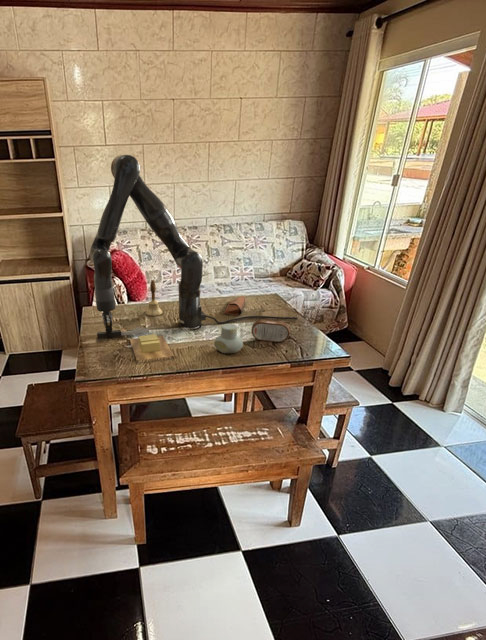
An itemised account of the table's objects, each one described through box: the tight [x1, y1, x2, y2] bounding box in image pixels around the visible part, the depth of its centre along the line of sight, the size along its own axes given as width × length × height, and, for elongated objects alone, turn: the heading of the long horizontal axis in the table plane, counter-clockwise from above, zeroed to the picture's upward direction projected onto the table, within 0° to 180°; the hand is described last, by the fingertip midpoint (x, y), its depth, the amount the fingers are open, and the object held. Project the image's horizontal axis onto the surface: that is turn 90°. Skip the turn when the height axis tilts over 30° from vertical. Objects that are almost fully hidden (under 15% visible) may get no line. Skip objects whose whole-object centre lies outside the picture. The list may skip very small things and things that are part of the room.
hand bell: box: [145, 279, 164, 317], centre depth 193 cm, size 8×8×16 cm
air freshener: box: [214, 323, 244, 354], centre depth 155 cm, size 11×8×10 cm
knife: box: [96, 328, 150, 340], centre depth 171 cm, size 22×2×3 cm, turn 102°
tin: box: [251, 319, 291, 343], centre depth 162 cm, size 15×3×8 cm, turn 71°
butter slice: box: [141, 340, 160, 353], centre depth 156 cm, size 7×2×4 cm, turn 102°
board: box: [129, 335, 174, 361], centre depth 160 cm, size 14×20×1 cm
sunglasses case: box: [223, 295, 246, 316], centre depth 197 cm, size 18×7×7 cm
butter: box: [138, 333, 158, 348], centre depth 161 cm, size 7×5×4 cm
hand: (109, 337), depth 171 cm, fingers closed on knife, 1 cm apart
